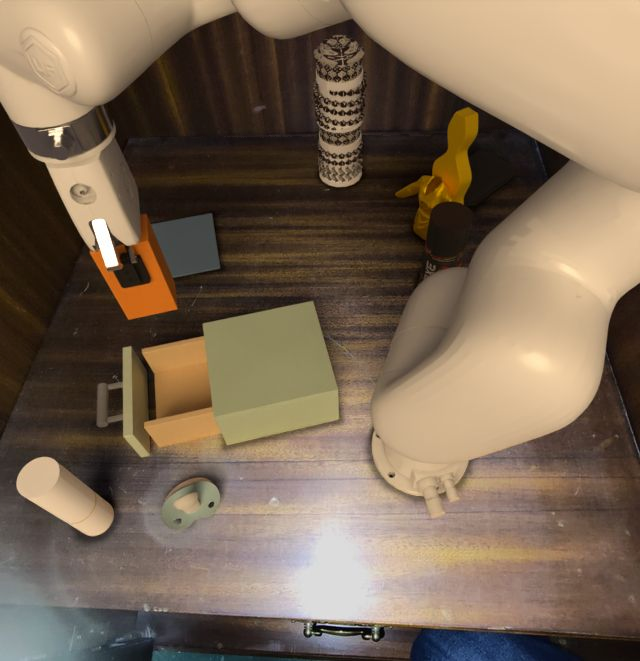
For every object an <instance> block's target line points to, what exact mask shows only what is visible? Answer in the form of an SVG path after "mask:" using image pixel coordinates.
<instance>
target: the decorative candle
mask: <svg viewBox="0 0 640 661" xmlns="http://www.w3.org/2000/svg"><path fill="white" fill-rule="evenodd" d="M364 55H365V48H364V47H363V46H362V45H361V44H360V43H359V42H358V41H357V40H356V39H355V38H354V37H352V36H350V35H346V34H333V35H330V36H327V37H326V38H324V39H323V40H322V41H321V42H320V44H319V45H317V46H316V47H315V49H314V50H313V57H314V58H315V63H316V68H315V78H314V80H313V84H312V90H313V91H312V92H313V93H312V96H313V97H314V98H313V103H314V108H315V110H314V115H315V122H316V124H317V125H318V127H319V132H318V138H319V139H318V140H317V152H318V153H317V160H318V161H317V164H318V172H319V178H320V180H321V181H322V182H323V183H324V184H325V185H327V186H330V187H334V188H346V187H349V186H352V185H355V184H356V183H357V182H360V179H361V178H362V176H363V171H362V169H363V167H364V166H363V165H362V163H363V161H364V159H363V158H362V157H363V154H364V151H363V147H364V142H363V141H364V140H363V138H362V137H363V136H362V135H363V134H362V124H363V122H364V118H365V113H364V110H365V108H366V103H365V102H366V101H365V99H366V97H367V95H366V93H365V90H366V88H367V87H368V83H367V80H366V79H367V77H368V76H367V75H366V74H367V72H366V71H365V70H364V68H363V56H364Z"/></svg>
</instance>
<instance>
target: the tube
mask: <svg viewBox="0 0 640 661" xmlns="http://www.w3.org/2000/svg"><path fill="white" fill-rule="evenodd" d="M15 482H16V486H15V487H16V490H17V492H18V493H19V494H20V495H21V496H22V497H24V498H25V499H27V500H28V501H30V502H32V503H34V504H35V505H37V506H38V507H40V508H42V509H43V510H45V511H46V512H48V513H50V514H51V515H52V516H55V518H57V519H59V520H61V521H63V522H64V523H66V524H68V525H70V526H71V527H73V528H74V529H76V530H77V531H79V532H80V533H82V534H84V535H86V536H89V537H97V536H99V535H102V534H104V533H105V532H106V531H107V530H108V529H109V528H110V527H111V525H112V524H113V521H114V518H115V511H114V508H113V506H112V504H111V503H109V502H108V501H107V500H105V498H103V497H101V495H99V494H98V493H97V492H96V491H94V490H93V489H92V488H90V486H88V485H87V484H86V483H85V482H83V481H82V480H80V479H79V478H78V477H76V476H75V475H74V474H73V473H72V472H71V471H69V470H68V469H67V468H65V467H64V466H63V465H62V464H61V463H59V462H58V461H57V460H56V459H54V458H52V457H49V456H41V457H36V458H34V459H32V460H30V461H29V462H28V463H26V464H25V465H24V466H23V467H22V468H21V470H20V471H19V473H18V474H17V478H16V481H15Z"/></svg>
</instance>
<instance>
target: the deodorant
mask: <svg viewBox="0 0 640 661" xmlns="http://www.w3.org/2000/svg"><path fill="white" fill-rule="evenodd" d="M474 217H475V216H474V213H473V210H471V209H469V208H468V207H467V206H465V205H464V204H461V203H458V202H453V201H447V202H442V203H439V204H437V205H436V206H434V207H433V209H432V210H431V213H430V219H429V225H428V230H427V236H426V240H425V243H424V248H423V255H422V260H421V266H420V272H419V278H418V282H417V283H418V285H419V284H420V283H421V282H422V281H423V280H424V279H426V278H427V277H428V276H430V275H432V274H433V273H435V272H438V271H440V270H443V269H447V268H453V267H462V264H463V260H464V257H465V253H466V252H465V251H466V250H465V249H467V245H468V241H469V238H470V234H471V230H472V226H473V222H474V219H475V218H474ZM418 285H417V286H418Z"/></svg>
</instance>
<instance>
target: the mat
mask: <svg viewBox="0 0 640 661" xmlns="http://www.w3.org/2000/svg"><path fill="white" fill-rule="evenodd" d="M150 224H151V226H152V229H153V231H154V234H155V236H156V238H157V241H158V243H159V246H160V248H161V250H162V253H163V255H164V258H165V260H166V263H167V265H168V267H169V270H170V272H171V275H172V277H173V279H174V278H181V277H184V276H190V275H195V274H200V273H205V272H211V271H215V270H221V261H220V255H219V249H218V242H217V237H216V231H215V230H216V229H215V224H214V217H213V213H212V212H209V213H205V214H197V215H193V216H187V217H182V218H177V219H172V220H166V221H162V222H156V223H155V222H154V223H150Z"/></svg>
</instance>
